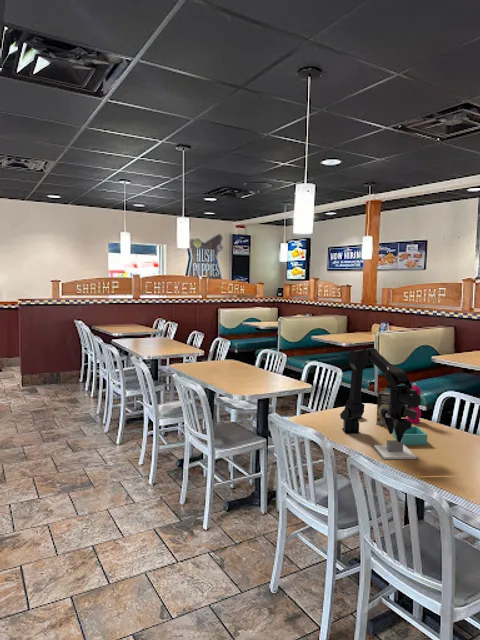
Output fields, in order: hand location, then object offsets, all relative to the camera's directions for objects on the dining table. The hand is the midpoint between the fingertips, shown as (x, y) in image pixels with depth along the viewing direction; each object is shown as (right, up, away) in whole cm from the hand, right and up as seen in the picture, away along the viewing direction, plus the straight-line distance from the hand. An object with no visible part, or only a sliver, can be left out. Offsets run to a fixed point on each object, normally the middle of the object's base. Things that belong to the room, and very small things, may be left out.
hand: (394, 437), depth 187 cm
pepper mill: (+24, -3, +42) cm, 48 cm away
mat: (0, -7, 0) cm, 7 cm away
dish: (+12, -5, +15) cm, 20 cm away
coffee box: (+9, -3, +38) cm, 39 cm away
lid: (0, -6, 0) cm, 6 cm away
